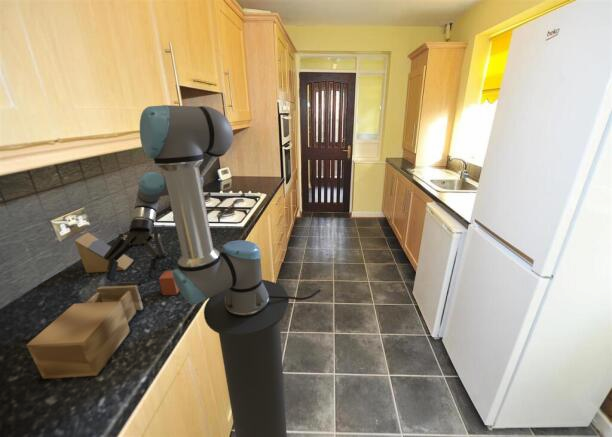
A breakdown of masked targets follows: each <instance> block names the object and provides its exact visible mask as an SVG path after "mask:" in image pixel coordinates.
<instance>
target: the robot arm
mask: <svg viewBox="0 0 612 437" xmlns="http://www.w3.org/2000/svg"><path fill="white" fill-rule="evenodd" d="M139 138H140V143H141V147H142V150H143V153H144V155H145V156H146V157H147V158H151V159H153V162H154V165H155V166H156V167H158V168H160V169H161V170H162V171H163V174H160V173H158V172H154V171H149V172H146V173H144V174H143V175H142V176H141V178H140V180H139V182H138V189H137V194H136V198H135V203H134V207H133V211H132V215H131V221H130V225H129V228H128V229H129V230H128V231H129V232H128V234H123V233H119V234H118V237H117V239H116V241H115V242H113V244H112V245H111V248H110V249H109V251H108V252H107V253H106V255H105V256H104V258H105V259H107V260H109V263H108V267H107V270H109V271H107V276H106V280H109V281H111V282H112V281H113V282H114V281H115V278H116V273H117V271H118V270H117V266H118V262H117V260H118V259H119V258H120V257H121V256H122V255H123V254H124V255H125V254H126V253H127V252H128V251H129V250H131V249H132V248H134V247H135V248H136V247H146V249H147V250H148V251H149V253H151V255H152V256H153V258H151V261H150V265H149V266H150V267H149V270H148V276H147V277H148V278H149V279H152V280H155V278H156V272H157V270H158V269H159V267H160V264H161V260H162V259H166V258H167V254H166V250H165V248H164V245H163V242H162V235H161V234H160V233H159V232H157V231H156V232H154V228H155V223H156V218H157V211H158V207H159V203H160V200H161V198H162V197H165V196H168V198H169V202H170V203H169V204H170V207H171V211H172V216H173V220H174V225H175V229H176V236H177V240H178V244H179V248H180V252H181V253H180V254H181V255H180V256H179V257H178V258H177V267H176V268H175V269H174V270H172V271H173V278H174V280H175V283H176V285H177V287H178V289H179V292H180V294H181V296H182V297H183V299H185V301H186V302H187V303H189V305H198V304H200V303H202V302H207V301H208V300H209V299H210V298H211V297H213V296H215V295H217V294H219V293H221V292H223V291H226V290H227V294H226V297H225V308H226V311H227V312H228V313H229V314H230V315H232V316H235V317H251V316H254V315H257V314H259V313H260V312H262V311H263V310H264V309H265V308H266V307H267V306H268V304H269V298H287V299H289V300H290V299H291V300H296V301H297V300H298V301H305V300H309V299H311V298H313V297H314V296H316V295H317V294H318V293H320V292H321V289H320V288H319V289H317V290H316V291H315V292H314V293H312V294H310V295H308V296H305V297H298V296H289V295H288V296H269V295H268V292H267V290H266V288H265V286H264V284H263V282H262V280H263V273H262V272H263V271H262V261H261V260H262V259H261V258H262V256H261V251H260V247H259V245H258V244H257V243H255V242H252V241H250V240H243V239H240V240H238V239H237V240H232V241H231V240H230V241H227V242H226V243H224V244H223V245H222V251H221V252H220V251H219V250H218V249H216V248H215V247H214V245H213V244H214V243H213V239H212V233H211V228H210V222H209V215H208V211H207V205H206V200H205V194H204V188H203V187H204V176H205V175H206V174H207V173H208V171H209V170H210V169H211V167H212V166H213V165H214V163H215V162H216V161H217V160H218V158H220V157H224V155H225V154H227V152H228V151H229V150H230V148H231V146H232V144H233V141H234V130H233V127H232V124H231V122H230V120H229V119H228V118H227V117H226V116H225V115H224V113H222V112H221V111H219V110H218V109H217V108H213V107H211V106H206V105H199V106H197V105H196V106H195V105H194V106H192V105H171V104H170V105H169V104H163V105H151V106H146V107H145V108H143V110H142V112H141V114H140V120H139ZM152 239H153V240H154V242H155V243H154V244H155V245H156V248H157V250H156V248H154V246H153V244H152V242H150V241H151V240H152Z"/></svg>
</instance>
